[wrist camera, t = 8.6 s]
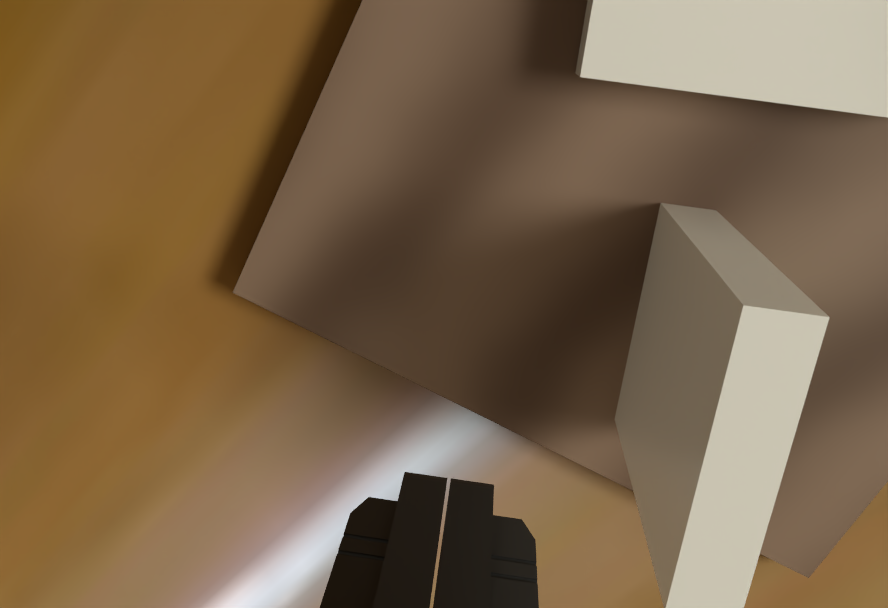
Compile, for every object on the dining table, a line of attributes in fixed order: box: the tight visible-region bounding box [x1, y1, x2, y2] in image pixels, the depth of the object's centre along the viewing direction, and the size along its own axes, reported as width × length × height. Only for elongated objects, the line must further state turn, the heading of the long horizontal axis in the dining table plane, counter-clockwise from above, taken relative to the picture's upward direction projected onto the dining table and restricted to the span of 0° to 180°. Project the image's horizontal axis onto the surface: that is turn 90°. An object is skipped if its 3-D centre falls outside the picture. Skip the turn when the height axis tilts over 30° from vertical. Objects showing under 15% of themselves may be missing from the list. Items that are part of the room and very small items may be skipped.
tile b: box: [615, 203, 830, 608], centre depth 21 cm, size 2×7×9 cm, turn 173°
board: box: [233, 0, 888, 578], centre depth 24 cm, size 21×19×1 cm
